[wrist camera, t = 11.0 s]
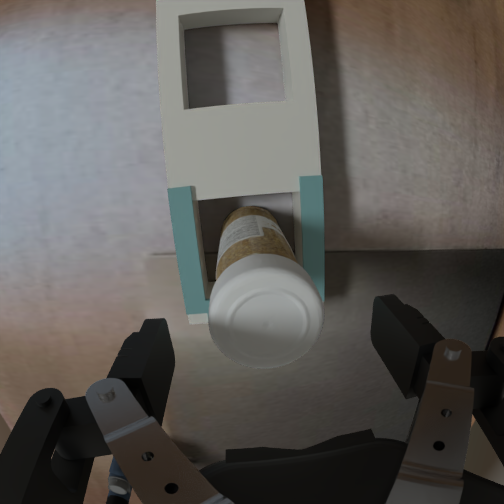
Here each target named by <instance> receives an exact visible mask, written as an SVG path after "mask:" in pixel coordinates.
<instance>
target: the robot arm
mask: <svg viewBox="0 0 504 504" xmlns="http://www.w3.org/2000/svg"><path fill="white" fill-rule="evenodd" d="M371 340H372V344H373V346H374V348H375V349H376V351H377V352H378V354H379V356H380V357H381V359H382V361H383V362H384V364H385V365H386V367H387V369H388V370H389V372H390V374H391V375H392V377H393V378H394V380H395V382H396V383H397V385H398V387H399V388H400V390H401V392H402V393H403V395H404V397H405V398H406V399H409V398H412V397H416V396H418V398H419V402H418V405H417V408H416V411H415V414H414V418H413V421H412V424H411V427H410V430H409V433H408V436H407V439H406V441H405V442H402V441H398V440H394V439H387V438H375V437H374V434H373V432H372V430H371V429H368V430H364V431H359V432H355V433H350V434H346V435H341V436H337V437H334V438H332V439H329V440H327V441H324V442H322V443H319V444H317V445H314V446H311V447H309V448H306V449H302V450H295V449H280V448H268V447H257V448H244V449H228V450H226V460H222V461H219V462H216V463H213V464H211V465H209V466H206V467H204V468H202V469H201V470H199V471H198V470H197V469H196V467H195V466H194V465H193V464H192V463H191V462H190V461H189V460H188V459H187V457H186V456H185V455H184V454H183V453H182V452H181V450H180V449H179V448H178V447H177V446H176V444H175V443H174V442H173V441H172V440H171V438H170V437H169V436H168V435H167V434H166V432H165V431H164V430H163V429H162V427H161V426H162V422H163V417H164V412H165V408H166V403H167V399H168V394H169V390H170V385H171V381H172V377H173V372H174V368H175V355H174V350H173V346H172V342H171V338H170V334H169V330H168V325H167V322H166V320H165V318H158V319H145V321H144V323H143V325H142V327H141V329H140V331H139V332H133V333H132V334H131V335H130V336H129V337H128V338H127V339H125V341H124V343H123V345H122V347H121V350H120V351H119V353H118V357H116V359H115V361H114V363H113V365H112V367H111V370H110V372H109V374H108V376H107V378H106V379H102V380H99V381H97V382H95V383H93V384H92V385H91V386H90V387H89V388H88V390H87V392H86V396H83V397H77V398H71V399H65V398H64V396H63V394H62V393H61V391H59V390H58V389H55V388H46V389H42V390H40V391H38V392H36V393H35V394H33V395H32V396H31V397H30V399H29V400H28V402H27V404H26V406H25V407H24V409H23V411H22V413H21V415H20V417H19V418H18V420H17V422H16V424H15V426H14V428H13V430H12V432H11V434H10V436H9V438H8V440H7V442H6V444H5V446H4V448H3V450H2V452H1V454H0V504H83V501H84V497H85V493H86V489H87V485H88V481H89V477H90V473H91V469H92V465H93V461H94V458H95V457H98V456H104V455H110V454H113V456H114V458H115V460H116V461H117V463H118V465H119V467H120V468H121V470H122V472H123V473H124V475H125V477H126V478H127V480H128V482H129V483H130V485H131V487H132V488H133V490H134V491H135V493H136V494H137V496H138V497H139V499H140V500H141V502H142V503H143V504H504V486H503V485H500V484H498V483H495V482H493V481H490V480H488V479H485V478H483V477H480V476H478V475H476V474H473V473H471V472H469V471H466V470H464V469H463V468H464V464H465V458H466V453H467V448H468V441H469V434H470V428H471V420H472V414H473V416H474V418H475V419H476V421H477V422H478V424H479V425H480V427H481V429H482V430H483V432H484V434H485V435H486V437H487V438H488V440H489V442H490V444H491V445H492V447H493V449H494V450H495V452H496V454H497V455H498V457H499V459H500V461H501V462H502V464H503V466H504V337H497V338H494V339H493V340H492V341H491V342H490V345H489V348H488V351H471V349H470V347H469V346H468V345H467V344H465V343H464V342H462V341H459V340H455V339H445V338H444V337H443V336H442V335H441V334H440V333H439V332H438V331H437V330H436V329H435V327H434V326H433V325H432V324H431V323H429V321H428V320H427V319H426V318H424V316H423V315H422V314H421V313H420V312H419V311H418V310H417V309H415V308H413V307H411V306H410V305H408V304H403V303H402V302H401V301H400V300H399V299H398V297H397V296H396V295H394V294H390V295H384V296H377V297H375V299H374V303H373V313H372V323H371ZM54 449H55V451H54ZM53 452H54V454H53ZM52 454H53V457H52ZM51 457H52V459H51Z"/></svg>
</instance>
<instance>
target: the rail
mask: <svg viewBox="0 0 504 504" xmlns="http://www.w3.org/2000/svg"><path fill="white" fill-rule="evenodd" d="M252 23H278V31H279V40H280V49H281V59H282V69H283V79H284V90H285V101H278V102H258V103H243V104H231V105H220V106H211V107H202V108H194V109H189V100H188V86H187V71H186V55H185V36H184V30H187V29H194V28H202V27H211V26H222V25H234V24H252ZM156 30H157V59H158V79H159V95H160V109H161V122H162V133H163V144H164V154H165V164H166V173H167V182H168V189H167V190H168V198H169V206H170V213H171V221H172V228H173V235H174V242H175V248H176V255H177V261H178V267H179V273H180V279H181V285H182V291H183V296H184V302H185V307H186V313H187V315H188V319H189V324H202V323H208V315H209V303H210V296H211V293H212V289H213V287H214V284H215V283H216V282H208V276H207V269H206V262H205V254H204V246H203V238H202V230H201V222H200V213H199V205H198V200H206V199H216V198H226V197H236V196H247V195H259V194H271V193H285V192H292V200H293V220H294V241H295V259H296V260H297V262H298V264H299V265H300V266H301V267H302V268H303V269H304V270H305V271H306V272H307V273H308V274H309V276H310V277H311V279H312V281H313V282H314V284H315V286H316V288H317V290H318V292H319V294H320V296H321V298H322V301H324V287H325V250H324V203H323V178H322V175H321V162H320V145H319V130H318V117H317V105H316V94H315V83H314V73H313V64H312V55H311V47H310V39H309V31H308V24H307V16H306V9H305V3H304V0H156Z"/></svg>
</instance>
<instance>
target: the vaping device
mask: <svg viewBox="0 0 504 504" xmlns="http://www.w3.org/2000/svg"><path fill="white" fill-rule="evenodd" d="M109 472H110V475H109V477H108V482H109V485H108V488H109V494H108V498H107V502H106V504H128V503H129V499H130V496H131V490H132V487H131V485H130V483H129V482H128V480H127V478H126V477H125V475H124V473H123V472H122V470H121V468H120V467H119V465H118V463H117V461H116V460H115V458H114V456H113V460H112V463H111V467H110V470H109ZM108 499H109V500H108Z"/></svg>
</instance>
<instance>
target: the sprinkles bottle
mask: <svg viewBox="0 0 504 504" xmlns="http://www.w3.org/2000/svg"><path fill="white" fill-rule="evenodd" d="M220 237H221V240H220V245H219V252H218V259H217V268H216V283H215V284H214V287H213V289H212V293H211V296H210V303H209V315H208V323H209V330H210V334H211V336H212V339H213V341H214V343H215V344H216V346H217V347H218V348H219V350H220V351H221V352H222V353H223V354H224V355H225V356H227V357H228V358H229V359H231V360H232V361H234V362H236V363H238V364H240V365H243V366H246V367H250V368H257V369H270V368H277V367H281V366H284V365H287V364H289V363H292V362H294V361H296V360H297V359H299V358H300V357H302V356H303V355H304V354H306V353H307V352H308V351H309V350H310V349H311V348H312V347H313V345H314V344H315V343H316V341H317V340H318V338H319V336H320V334H321V331H322V328H323V324H324V314H325V311H324V305H323V301H322V298H321V296H320V294H319V292H318V290H317V288H316V286H315V284H314V282H313V281H312V279H311V277H310V276H309V274H308V273H307V272H306V271H305V270H304V269H303V268H302V267H301V266H300V265H299V264H298V262H297V260H296V259H295V256H294V253H293V251H292V249H291V247H290V245H289V243H288V242H287V240H286V238H285V236H284V234H283V233H282V231H281V229H280V228H279V225H278V223H277V221H276V219H275V218H274V217H273V215H271V214H270V213H269V212H268V211H267V210H265V209H262V208H260V207H255V206H246V207H240V208H239V209H237V210H234V211H233V212H232V213H230V214H229V215H228V217H227V218H226V219H225V220H224V222H223V225H222V228H221V234H220Z"/></svg>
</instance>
